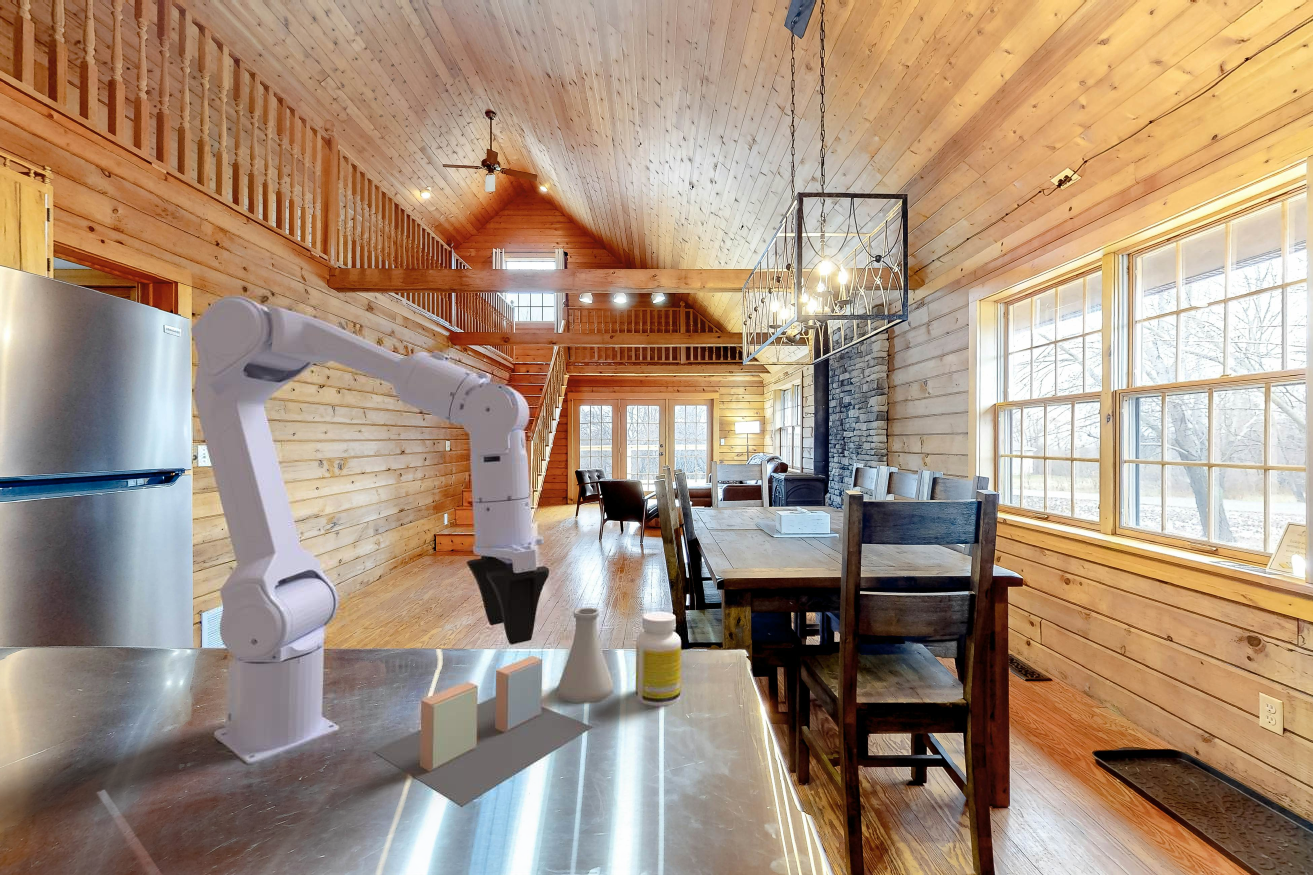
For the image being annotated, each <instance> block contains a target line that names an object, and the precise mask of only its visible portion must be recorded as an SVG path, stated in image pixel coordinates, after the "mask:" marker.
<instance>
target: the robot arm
mask: <svg viewBox="0 0 1313 875" xmlns="http://www.w3.org/2000/svg"><path fill="white" fill-rule="evenodd" d="M190 330H191V334H192V337H193V341H194V345H195V349H196V353H197V357H198V359H197V365H196V371H195V379H194V385H193V398H194V400H193V401H194V404H195V407H196V412H197V416H198V419H199V424H200V427H201V432H202V436H203V439H204V442H205V446H206V450H207V453H208V457H209V462H210V464H211V469H212V472H213V477H214V480H215V484H216V488H217V491H218V495H219V499H220V503H221V507H222V512H223V515H224V519H225V522H226V526H227V530H228V533H229V538H230V541H231V545H232V550H233V552H234V556H235V560H236V566H235V568H234V569H233V571H232V572H231V573H230V575H229V577H228V578H227V579H226V581H225V582H224V584H223V585H222V587H221V588H220V590H219V594H220V597H221V601H222V615H221V617H220V621H219V622H220V623H219V634H220V638H221V641H222V643H223V645H224V647H225V648H226V649H227V651H229V653H230V654H232V655H233V656H234V657H233V659H232V661H231V663H229V666H228V670H227V674H226V675H227V676H226V705H225V706H226V707H225V709H226V711H225V727H223V728H219V729H216V730H215V731H214V732H213V737H214V738H215V739H217V741H219V742H220V743H222V744H224V745H225V746H226V747H227V748H229V749H230V750H231V751H232V752H233V753H234V754H235V755H237V756H238V757H239V758H240V759H242V761H244V762H245V763H246V764H247V765H253V764H256V763H260V762H263V761H264V760H267V759H269V758H272V757H274V756H277V755H280V754H283V753H284V752H288V751H289V750H292V749H294V748H298V747H300V746H302V745H305V744H308V743H310V742H313V741H315V740H318V739H320V738H323V737H325V736H328V735H330V734H333V733H335V732H338V731H339V730H340V726H339V725H337V724H336V723H334V722H332V721H331V720H329V719H327V718H325V717H324V716H323V697H324V694H323V692H324V691H323V690H324V688H323V687H324V652H325V650H324V649H325V642H324V641H325V637H326V626H327V625H329V624H330V623H331V622H332V620H333V618H335V616H336V614H337V612H338V609H339V596H338V595H339V594H338V592H337V589H336V587H335V585H334V584H333V583H332V582H331V580H329V579H328V577H327V576H326V575H325V573H324V571H323V569H322V565H321V562H320V560H319V559H318V558H317V557H316V556H314V555H313V554H312V553H310V552H309V551H307V550H306V549H304V548H303V547H302V545H301V542H300V537H299V534H298V530H297V526H296V523H295V519H294V516H293V511H292V507H291V504H290V499H289V497H288V492H287V489H286V485H285V481H284V478H283V473H282V470H281V467H280V463H279V458H278V455H277V451H276V447H275V444H274V439H273V436H272V433H271V432H272V431H271V429H270V424H269V422H268V417H267V413H266V410H265V405H266V404H267V403H268V401H269V400H270V399H271V397H273V395H274V394H276V392H278V391H279V390H280V389H282V388H283V387H285V386H286V385H288V384H290V382H292V381H293V380H294V379H296V378H297V377H299V376H301V375H302V374H303V373H304V372H306V371H307V370H309V369H310V368H311V367H312V366H313V365H314V364H315V365H318V366H324V365H327V364H328V363H330V362H334V363H337V364H339V365H341V366H345V367H347V368H348V369H352V370H355V371H356V372H357V371H358V372H360V373H361V374H364V375H367V376H369V377H373V378H375V379H378V380H380V381H383V382H385V383H388V384H391V385H392V387H393V390H394V391H395V393H396V396H397V398H398V400H399V401H400V402H401V403H403V404H405V405H407V406H410V407H412V408H415V409H417V410H419V411H421V412H425V413H427V414H429V415H431V416H434V417H437V418H439V419H441V420H443V421H446V422H448V423H451V424H453V425H455V426H462V427H463V429H464V430H465V431H466V433H468V434H469V448H470V455H469V456H470V460H469V461H470V462H469V464H470V476H471V478H470V479H471V494H472V496H471V497H472V513H473V529H474V532H473V534H474V543H473V545H472V548H473V549H472V551H473V554H474V555H477V556H480V558H476V559H475V558H474V559H469V560H467V561H466V564H467V567H468V568H469V570H470V571H471V573H472V575H473V577H474V579H475V581H476V584H477V586H478V589H479V592H480V595H481V599H482V602H483V606H484V607H483V608H484V611H485V615H486V618H487V621H488V624H489V625H490V626H495V625H500V624H503V626H504V632H505V636H506V639H507V642H508V643H509V645H511V646H512V645H517V644H521V643H525V642H530V641H532V638H533V634H534V628H535V622H536V616H537V610H538V605H539V601H540V597H541V594H542V590H543V588H544V585H545V584H546V581H547V580H548V578H549V574H550V568H549V567H547V566H545V565H542V566H538V565H537V551H536V548H535V547H536V546H540V545H544V542H545V541H544V537H543V536H539V535H536V536H533V530H532V514H531V513H532V512H531V498H530V496H531V494H530V477H529V464H528V463H529V460H528V458H529V457H528V453H527V445H526V442H527V440H526V432H525V429H526V427H527V425H528V424H529V422H530V412H531V411H530V408H529V405H528V402H527V400H526V399H525V397H524V396H523V395H522V394H521V393H520V392H519V391H517V390H515V389H514V388H512V386H509V385H505V384H503V383H499V382H495V381H491V378H492V376H491V374H489V373H487V372H484V371H482V370H479V372H478V373H475V372H474V371H471V370H468V369H466V368H464V367H461V366H459V365H457V364H454V363H451V362H449V361H450V359H451V357H450V356H449V355H447V354H445V353H443V352H441V351H437V350H433V353H432V354H431V353H429V352H426V351H420V352H416V353H413V354H411V355H407V356H403V355H400V354H398V353H396V352H393V351H392V350H389V349H387V348H385V347H382V346H380V345H378V344H376V343H373V342H371V341H370V340H368V339H365V338H362V337H360V336H358V335H356V334H354V333H351V332H350V331H347V330H344V329H343V328H341V327H338V326H335V325H334V324H330V323H328V322H326V321H324V320H321V319H319V318H315V317H312V316H309V315H306V314H302V313H298V312H295V311H293V310H289V309H285V308H281V307H278V306H276V305H275V306H274V305H270V304H266V303H264V305H262V304H259V303H257V302H255V301H254V300H252V299H250V298H248V297H245V296H242V295H228V296H224V297H223V296H222V297H221V298H219V299H217V300H215V301H213V302H212V303H211V304H210V305H209V306H208V307H207V309H206V310H205V311H204V312H203V313H202V314H201V315H200V317H199V318H198V319H197V321H196V322H195V323H194V324H193V326H192V327H191V328H190Z"/></svg>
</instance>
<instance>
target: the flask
mask: <svg viewBox="0 0 1313 875" xmlns="http://www.w3.org/2000/svg"><path fill="white" fill-rule="evenodd" d="M599 615H600V609H599V608H597V607H596V608H595V607H592V606H591V607H578V608H576V609H574V610H573V618H574V619H575V631H574V635H573V642H572V644H571V647H570V651H569V654H568V658H567V660H566V662H565V665H564V668H563V672H562V675H561V677H560V679H559V682H558V685H557V690H556V698H557V699H561V700H563V701H568V702H569V703H570V702H571V703H574V704H579V703H580V704H582V703H583V704H584V703H585V704H587V703H601V702H603V700H605V699H607V698H608V697H610V696H611V695H613V694H614V692H615V691H614V682H613V680H612V676H611V673H610V670H609V668H608V666H607V661H606V659H605V656H604V653H603V650H602V646H601V643H600V640H599V634H598V627H597V619H598V618H599V617H600V616H599Z"/></svg>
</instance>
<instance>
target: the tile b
mask: <svg viewBox="0 0 1313 875" xmlns="http://www.w3.org/2000/svg"><path fill="white" fill-rule="evenodd" d="M542 686H543V659H542V658H540V657H537V656H533V655H531V656H528V657H526V658H523V659H522V660H519V661H516V662H514V663H510V664H508V665H505V666H503V667H501V668H498V669H496V670H495V696H496V706H495V728H496V729H498V730H500V731H502V732H505V733H506V732H508V731H510V730H512V729H513V728H515V727H517V726H519V725H521V724H523V723H525V722H527V721H529V720H531V719H533V718H535V717H537V716H538V715H540V714H541V708H542V707H543V706H542V705H543V704H542V702H543V701H542V700H543V699H542V698H543V697H542V696H543V690H542V689H543V687H542Z"/></svg>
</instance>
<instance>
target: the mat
mask: <svg viewBox="0 0 1313 875" xmlns="http://www.w3.org/2000/svg"><path fill="white" fill-rule="evenodd" d="M495 706H496V695H495V696H493V697H491V698H489V699H487V700H484V701H482V702H479V703H477V748H475V749H473V750H471V751H469V752H467V753H465V754H463V755H461V756H460V757H458V758H456V759H454V760H452V761H450V762H448V763H446V764H444V765H442V766H440V767H438V768H436V769H435V770H433V771H431V772H429V771H428V770H426V769H424V768H423V767H421V766H420V735H421V729H419V730H417V731H415V732H412V733H410V734H408V735H406V736H404V737H401V738H398V739H396V740H394V741H392V742H390V743H388V744H385V745H382V746H381V747H379V748H376V749H373V750H372V753H374V754H376V755H377V756H379V757H380V758H382V759H384V760H385V761H386V762H389V763H391V765H393V766H395V767H397V768H398V769H400V770H402V771H403V772H405V773H407V774H408V775H410V776H412V778H415V779H417V780H418V781H419V782H421V783H422V784H425V785H426V786H427V787H429V788H431V789H432V790H434V791H436V792H437V793H439V794H440V795H442V796H444V797H446V798H448V799H449V800H451V802H454V803H456V804H457V805H459V806H460V807H464V806H466V805H467V804H470V803H471V802H472V801H475V800H476V799H478V798H479V797H481V796H483V794H486V793H487V792H489V791H490V790H491V791H492V789H494V788H496V787H497V786H499V785H500V784H503V782H505V781H507V780H509V779H510V778H512V777H514V776H515V775H517V774H519V773H520V772H522V771H524V770H526V768H528V767H530V766H531V765H533V764H534V763H536V762H539V761H540V760H542V759H543V758H545V757H547V756H548V755H549V754H551V753H553V752H554V751H556V750H558V749H560V748H561V747H563V746H565V745H566V744H567V743H569V742H571V741H573V740H574V739H576V738H577V737H579V736H581V735H583V734H584V733H586V732H588V731H589V730H591V729H593V728H594V727H593V726H592V725H590V724H587V723H585V722H583V721H580V720H578V719H575V718H572V717H569V716H566V715H564V714H562V713H559V712H557V711H554V710H551V709H550V708H549V709H548V708H547V707H544V706H542V708H541V714H540V715H538V716H537V717H535V718H533V719H531V720H529V721H527V722H525V723H523V724H521V725H519V726H517V727H515V728H513V729H512V730H510V731H508V732H506V733H505V732H502V731H500V730H498V729H496V728H495Z"/></svg>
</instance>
